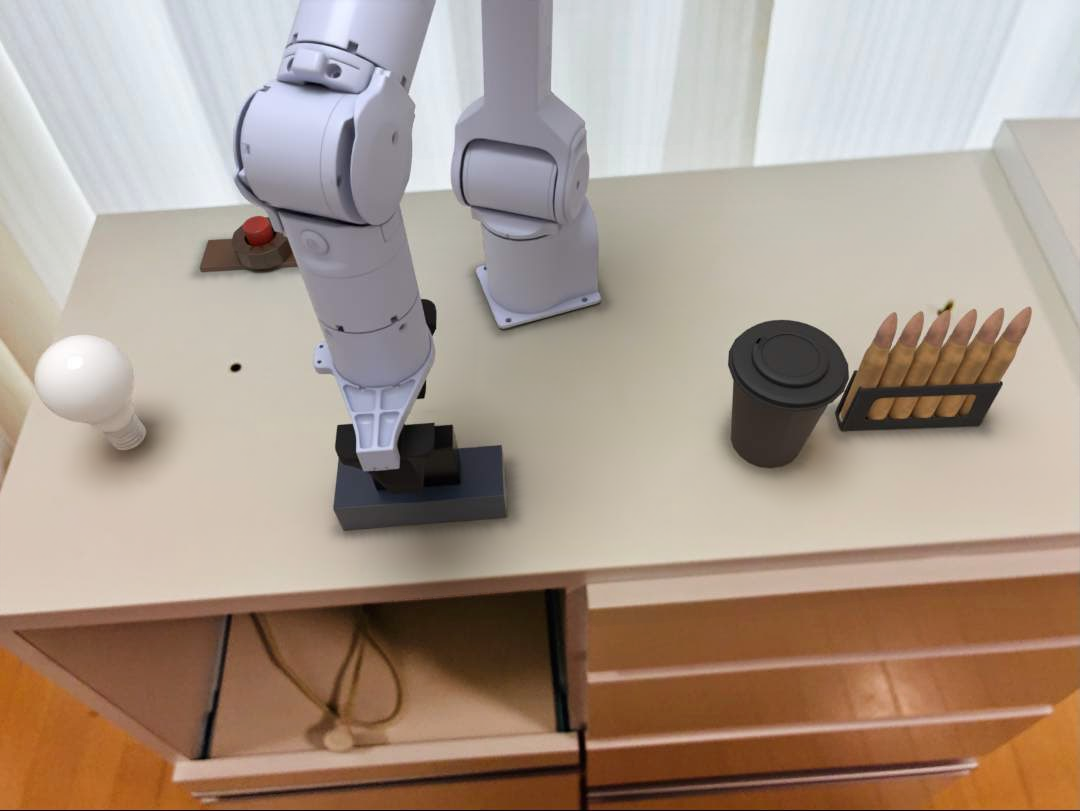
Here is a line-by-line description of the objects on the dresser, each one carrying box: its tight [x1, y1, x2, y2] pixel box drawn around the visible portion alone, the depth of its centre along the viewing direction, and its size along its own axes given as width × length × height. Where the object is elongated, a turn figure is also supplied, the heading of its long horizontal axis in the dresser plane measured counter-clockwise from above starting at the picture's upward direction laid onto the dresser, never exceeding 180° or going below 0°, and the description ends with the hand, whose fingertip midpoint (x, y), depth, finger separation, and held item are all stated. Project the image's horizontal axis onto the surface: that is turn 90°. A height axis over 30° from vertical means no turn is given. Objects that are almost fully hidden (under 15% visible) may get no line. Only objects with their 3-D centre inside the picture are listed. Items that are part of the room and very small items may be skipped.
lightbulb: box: [33, 334, 147, 451], centre depth 62 cm, size 6×6×11 cm
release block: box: [199, 216, 298, 273], centre depth 78 cm, size 12×5×2 cm, turn 92°
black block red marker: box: [371, 424, 461, 491], centre depth 57 cm, size 6×2×5 cm, turn 94°
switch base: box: [332, 444, 508, 531], centre depth 60 cm, size 12×4×3 cm, turn 94°
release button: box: [242, 215, 274, 246], centre depth 77 cm, size 2×2×2 cm
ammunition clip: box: [834, 306, 1033, 432], centre depth 59 cm, size 11×2×12 cm, turn 91°
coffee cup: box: [727, 319, 850, 469], centre depth 59 cm, size 8×8×10 cm
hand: (408, 440), depth 55 cm, fingers open, 7 cm apart
